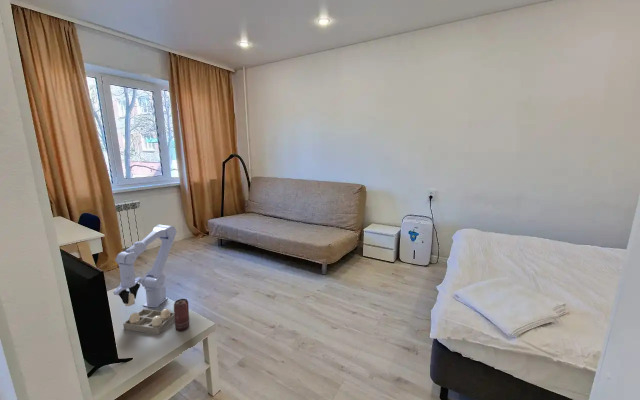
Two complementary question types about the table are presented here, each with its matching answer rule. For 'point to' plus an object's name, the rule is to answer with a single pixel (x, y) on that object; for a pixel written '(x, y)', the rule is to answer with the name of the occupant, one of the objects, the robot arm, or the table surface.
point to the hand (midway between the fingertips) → (129, 300)
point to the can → (181, 315)
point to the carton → (148, 322)
